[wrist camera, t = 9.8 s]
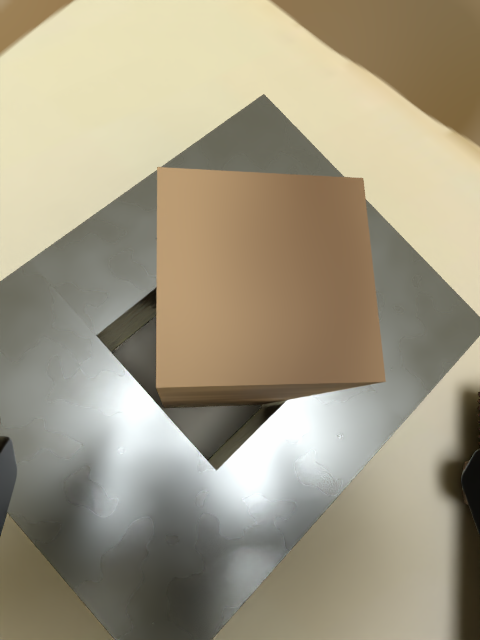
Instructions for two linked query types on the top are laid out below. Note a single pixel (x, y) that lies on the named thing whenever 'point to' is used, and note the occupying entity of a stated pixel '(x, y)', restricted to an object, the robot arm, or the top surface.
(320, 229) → the walnut block
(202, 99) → the top surface
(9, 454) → the robot arm
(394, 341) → the hole plate
